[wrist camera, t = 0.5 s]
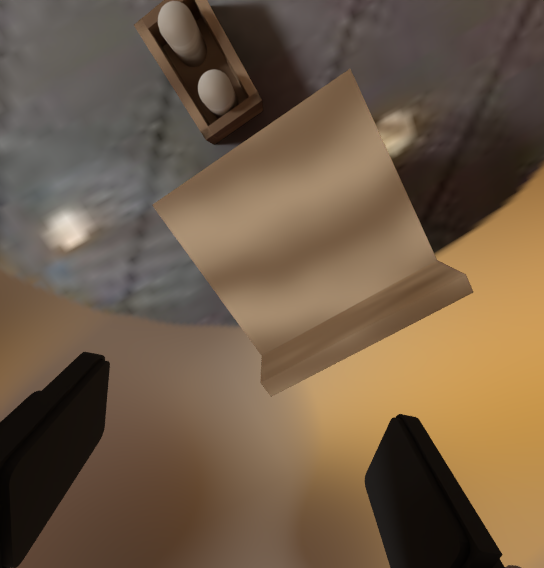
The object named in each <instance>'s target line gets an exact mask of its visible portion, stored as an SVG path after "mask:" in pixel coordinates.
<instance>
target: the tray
mask: <svg viewBox="0 0 544 568" xmlns="http://www.w3.org/2000/svg"><path fill="white" fill-rule="evenodd" d="M134 26H135V28H136V29H137V31H138V32H139V34H140V36H141V37H142V39H143V40H144V42H145V44H146V45H147V47H148V48H149V50H150V52H151V53H152V55H153V56H154V58H155V60H156V61H157V63H158V64H159V66H160V68H161V69H162V71H163V72H164V74H165V75H166V77H167V79H168V80H169V82H170V83H171V85H172V87H173V88H174V90H175V91H176V93H177V95H178V96H179V98H180V99H181V101H182V103H183V104H184V106H185V107H186V109H187V111H188V112H189V114H190V115H191V117H192V119H193V120H194V122H195V123H196V125H197V126H198V128H199V130H200V131H201V133H202V134H203V136H204V138H205V139H206V140H207V141H209V142H210V143H212V144H214V145H215V144H216V143H218V142H219V141H221V140H222V139H223V138H225V137H226V136H228V135H229V134H231V133H232V132H233V131H235V130H236V129H238V128H239V127H241V126H242V125H243V124H245V123H246V122H248V121H249V120H251V119H252V118H253V117H255V116H256V115H258V114H259V113H261V112H262V111H263V105H262V99H261V97H260V96H259V94H258V92H257V90H256V88H255V87H254V85H253V83H252V81H251V79H250V78H249V76H248V74H247V72H246V70H245V68H244V67H243V65H242V63H241V61H240V59H239V58H238V56H237V54H236V52H235V50H234V48H233V47H232V45H231V43H230V41H229V39H228V38H227V36H226V34H225V32H224V30H223V28H222V27H221V25H220V23H219V21H218V19H217V18H216V16H215V14H214V12H213V10H212V9H211V7H210V5H209V3H208V1H207V0H164V1H162V2H161V3H160V4H159V5H157V6H156V7H155V8H154V9H153V10H151V11H150V12H149V13H148V14H147V15H145V16H144V17H143V18H142V19H140V20H139V21H138V22H137V23H136V24H134Z"/></svg>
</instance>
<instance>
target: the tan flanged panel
mask: <svg viewBox="0 0 544 568" xmlns="http://www.w3.org/2000/svg"><path fill="white" fill-rule="evenodd" d="M153 207H154V208H155V210H156V211H157V212H158V214H159V215H160V216H161V218H162V219H163V221H164V222H165V223H166V225H167V226H168V227H169V229H170V230H171V232H172V233H173V234H174V236H175V237H176V238H177V240H178V241H179V243H180V244H181V245H182V247H183V248H184V249H185V251H186V252H187V254H188V255H189V256H190V258H191V259H192V260H193V262H194V263H195V265H196V266H197V267H198V269H199V270H200V271H201V273H202V274H203V276H204V277H205V278H206V280H207V281H208V282H209V284H210V285H211V287H212V288H213V289H214V291H215V292H216V293H217V295H218V296H219V298H220V299H221V300H222V302H223V303H224V304H225V306H226V307H227V309H228V310H229V311H230V313H231V314H232V315H233V317H234V318H235V320H236V321H237V322H238V324H239V325H240V327H241V328H242V329H243V331H244V332H245V333H246V335H247V336H248V337H249V339H250V340H251V342H252V343H253V344H254V346H255V347H256V349H257V350H258V351H259V353H260V354H261V355H262V362H261V384H262V385H263V387H264V388H265V389H266V391H267V392H268V393H269V395H270V396H271V397H272V396H273V395H275V394H277V393H279V392H281V391H283V390H285V389H287V388H289V387H291V386H293V385H295V384H297V383H299V382H301V381H302V380H304V379H306V378H308V377H310V376H312V375H314V374H316V373H318V372H320V371H322V370H324V369H326V368H328V367H330V366H331V365H333V364H336V363H337V362H339V361H341V360H343V359H345V358H347V357H349V356H351V355H353V354H355V353H357V352H359V351H361V350H363V349H365V348H366V347H368V346H370V345H372V344H374V343H376V342H378V341H380V340H382V339H384V338H386V337H388V336H390V335H392V334H394V333H395V332H398V331H399V330H401V329H403V328H405V327H407V326H409V325H411V324H413V323H415V322H417V321H419V320H421V319H423V318H425V317H426V316H429V315H430V314H432V313H434V312H436V311H438V310H440V309H442V308H444V307H446V306H448V305H450V304H452V303H454V302H456V301H458V300H459V299H461V298H463V297H465V296H467V295H469V294H471V293H473V290H472V288H471V285H470V283H469V281H468V278H467V276H466V274H464V273H462V272H460V271H458V270H456V269H454V268H452V267H450V266H448V265H446V264H444V263H442V262H439V261H438V260H437V259H436V257H435V255H434V252H433V250H432V248H431V246H430V244H429V241H428V239H427V237H426V235H425V233H424V230H423V228H422V226H421V224H420V222H419V219H418V217H417V215H416V213H415V211H414V208H413V206H412V204H411V202H410V200H409V197H408V195H407V193H406V191H405V189H404V186H403V184H402V182H401V180H400V177H399V175H398V173H397V171H396V169H395V166H394V164H393V162H392V160H391V158H390V155H389V153H388V151H387V149H386V147H385V144H384V142H383V140H382V138H381V136H380V133H379V131H378V129H377V127H376V125H375V122H374V120H373V118H372V116H371V114H370V111H369V109H368V107H367V105H366V103H365V100H364V98H363V96H362V94H361V92H360V89H359V87H358V85H357V83H356V81H355V78H354V76H353V74H352V72H351V70H350V69H349V70H348V71H346V72H345V73H343V74H342V75H340V76H339V77H337V78H336V79H335V80H333V81H332V82H330V83H329V84H327V85H326V86H324V87H323V88H321V89H320V90H319V91H317V92H316V93H314V94H313V95H311V96H310V97H308V98H307V99H305V100H304V101H303V102H301V103H300V104H298V105H297V106H295V107H294V108H292V109H291V110H289V111H288V112H287V113H285V114H284V115H282V116H281V117H279V118H278V119H276V120H275V121H274V122H272V123H271V124H269V125H268V126H266V127H265V128H263V129H262V130H260V131H259V132H258V133H256V134H255V135H253V136H252V137H250V138H249V139H247V140H246V141H244V142H243V143H242V144H240V145H239V146H237V147H236V148H234V149H233V150H231V151H230V152H228V153H227V154H226V155H224V156H223V157H221V158H220V159H218V160H217V161H215V162H214V163H212V164H211V165H210V166H208V167H207V168H205V169H204V170H202V171H201V172H199V173H198V174H197V175H195V176H194V177H192V178H191V179H189V180H188V181H186V182H185V183H183V184H182V185H181V186H179V187H178V188H176V189H175V190H173V191H172V192H170V193H169V194H167V195H166V196H165V197H163V198H162V199H160V200H159V201H157V202H156V203H154V204H153Z"/></svg>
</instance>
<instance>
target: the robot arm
mask: <svg viewBox="0 0 544 568" xmlns="http://www.w3.org/2000/svg"><path fill="white" fill-rule="evenodd" d="M109 368H110V363H109V362H108V361H105V357H104V356H103V355H99V354H94V353H88V352H83V353H82V354H80V355H79V356H78V357H77V358H76V359H75V360H74V361H73V362H72V363H71V364H70V365H69V366H68V367H66V368H65V369H64V370H63V371H62V372H61V373H60V374H59V375H58V376H57V377H56V378H55V379H54V380H53V381H52V382H51V383H50V384H49V385H47V386H46V387H45V388H44V389H43V390H42V391H36V392H34V393H33V394H31V395H30V396H29V397H28V398H26V399H25V400H24V401H23V402H22V403H21V404H20V405H19V406H18V407H17V408H16V409H14V410H13V411H12V412H11V413H10V414H9V415H8V416H7V417H6V418H5V419H4V420H2V421H1V422H0V568H16V567H17V566H19V564H20V563H21V562H22V561H23V559H24V558H25V556H26V555H27V553H28V552H29V550H30V548H31V547H32V545H33V543H34V542H35V541H36V539H37V537H38V536H39V534H40V533H41V531H42V530H43V528H44V527H45V525H46V523H47V521H48V520H49V519H50V517H51V516H52V514H53V513H54V511H55V509H56V508H57V506H58V504H59V503H60V502H61V500H62V499H63V497H64V495H65V494H66V492H67V491H68V489H69V488H70V486H71V485H72V483H73V481H74V480H75V478H76V477H77V475H78V474H79V472H80V471H81V469H82V467H83V466H84V464H85V463H86V461H87V460H88V458H89V456H90V455H91V453H92V452H93V450H94V449H95V447H96V445H97V444H98V442H99V441H100V439H101V437H102V434H103V432H104V427H105V415H106V402H107V391H108V380H109ZM365 487H366V490H367V493H368V497H369V500H370V503H371V506H372V509H373V512H374V516H375V519H376V522H377V525H378V528H379V532H380V535H381V538H382V542H383V545H384V548H385V551H386V555H387V558H388V561H389V564H390V567H391V568H521V567H518V566H513V565H512V566H511V565H508V566H507V567H504V565H503V564H502V562H501V560H500V557H501V556H502V553H501V552H500V550H499V548H498V547H497V545H496V543H495V542H494V540H493V539H492V537H491V536H490V534H489V532H488V530H487V529H486V528H485V526H484V524H483V522H482V521H481V519H480V517H479V516H478V514H477V513H476V511H475V509H474V508H473V506H472V505H471V503H470V501H469V500H468V498H467V496H466V495H465V493H464V492H463V490H462V488H461V487H460V485H459V484H458V482H457V480H456V479H455V477H454V475H453V474H452V472H451V471H450V469H449V467H448V466H447V464H446V463H445V461H444V459H443V458H442V456H441V454H440V453H439V451H438V449H437V448H436V446H435V445H434V443H433V441H432V440H431V438H430V437H429V435H428V433H427V432H426V430H425V428H424V427H423V425H422V424H421V422H420V420H419V419H418V418H416V417H412V416H407V415H402V414H399V415H397V416H396V418H392V419H391V421H390V423H389V425H388V427H387V430H386V431H385V434H384V436H383V438H382V440H381V442H380V444H379V447H378V449H377V451H376V453H375V455H374V457H373V460H372V462H371V464H370V466H369V468H368V470H367V473H366V475H365Z"/></svg>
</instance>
